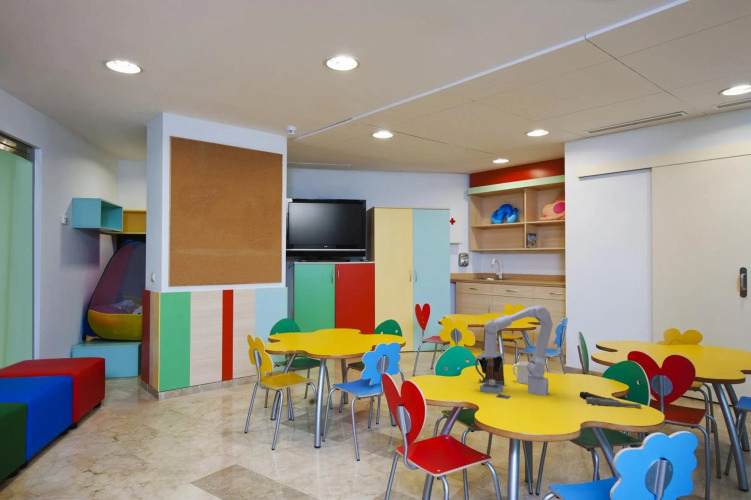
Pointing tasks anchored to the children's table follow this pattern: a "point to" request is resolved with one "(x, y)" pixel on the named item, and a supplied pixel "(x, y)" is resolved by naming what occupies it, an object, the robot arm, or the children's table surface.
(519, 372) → the mug
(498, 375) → the mug
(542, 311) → the robot arm
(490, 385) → the strut
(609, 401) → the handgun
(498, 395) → the grey metal square plate
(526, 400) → the children's table surface
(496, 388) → the bin
